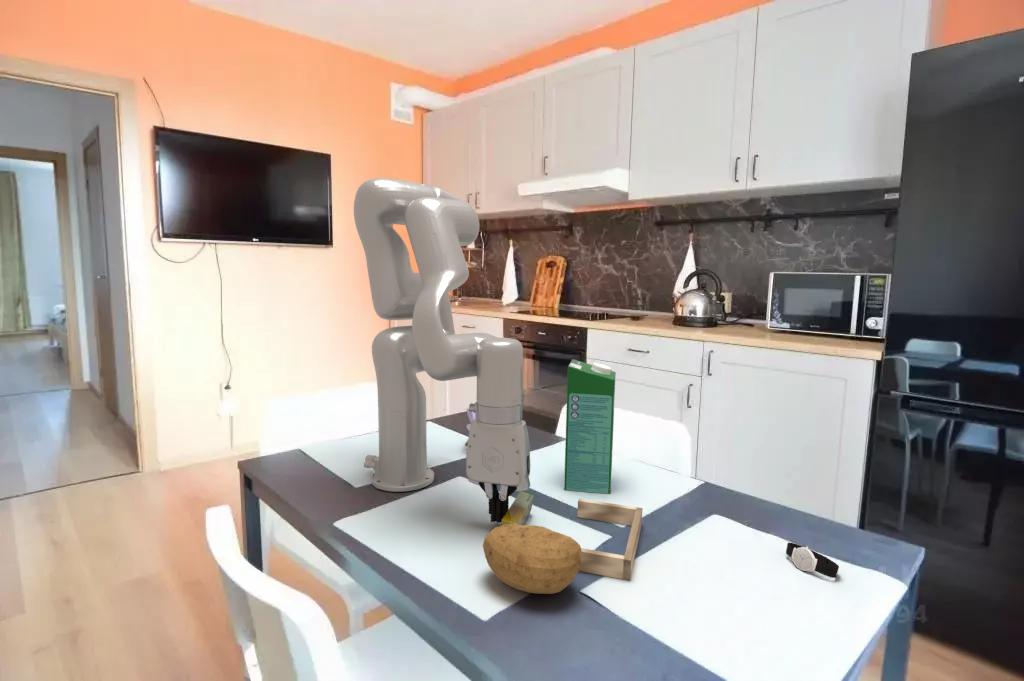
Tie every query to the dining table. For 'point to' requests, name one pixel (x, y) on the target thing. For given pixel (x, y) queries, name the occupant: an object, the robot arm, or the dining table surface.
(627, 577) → the u-shaped wooden frame
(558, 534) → the potato
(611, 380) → the milk carton
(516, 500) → the medication box
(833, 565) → the watch
